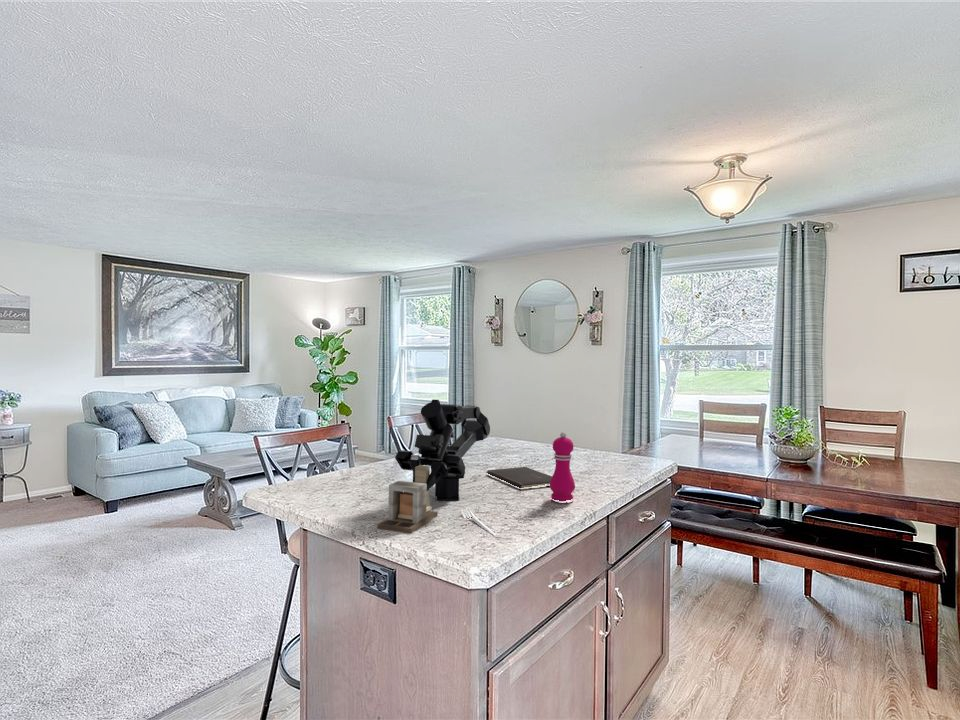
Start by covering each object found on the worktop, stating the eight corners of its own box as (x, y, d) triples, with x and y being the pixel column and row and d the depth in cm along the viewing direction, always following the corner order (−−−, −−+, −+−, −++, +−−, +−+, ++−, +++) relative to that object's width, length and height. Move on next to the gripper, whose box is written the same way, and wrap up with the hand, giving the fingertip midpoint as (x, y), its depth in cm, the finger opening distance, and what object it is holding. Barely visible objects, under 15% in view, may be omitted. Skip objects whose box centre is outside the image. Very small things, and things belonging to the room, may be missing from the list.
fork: (491, 542, 116) (491, 534, 116) (458, 515, 134) (458, 508, 134) (504, 540, 117) (504, 532, 117) (470, 513, 136) (470, 506, 136)
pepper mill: (577, 499, 151) (578, 431, 151) (571, 505, 144) (572, 434, 144) (553, 496, 154) (554, 429, 154) (546, 502, 147) (547, 432, 147)
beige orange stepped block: (416, 507, 136) (417, 465, 136) (431, 509, 134) (432, 466, 134) (397, 517, 126) (398, 472, 126) (413, 520, 125) (414, 474, 125)
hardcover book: (525, 472, 188) (525, 466, 188) (562, 487, 167) (562, 480, 167) (486, 476, 181) (486, 470, 181) (520, 492, 160) (520, 484, 160)
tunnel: (406, 511, 135) (407, 476, 135) (437, 515, 132) (438, 479, 132) (377, 528, 122) (378, 488, 122) (411, 533, 119) (412, 492, 119)
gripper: (398, 420, 141) (376, 468, 130) (462, 424, 134) (444, 475, 124) (411, 445, 148) (391, 492, 138) (472, 450, 142) (456, 500, 131)
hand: (419, 489), depth 133 cm, fingers closed on beige orange stepped block, 3 cm apart
